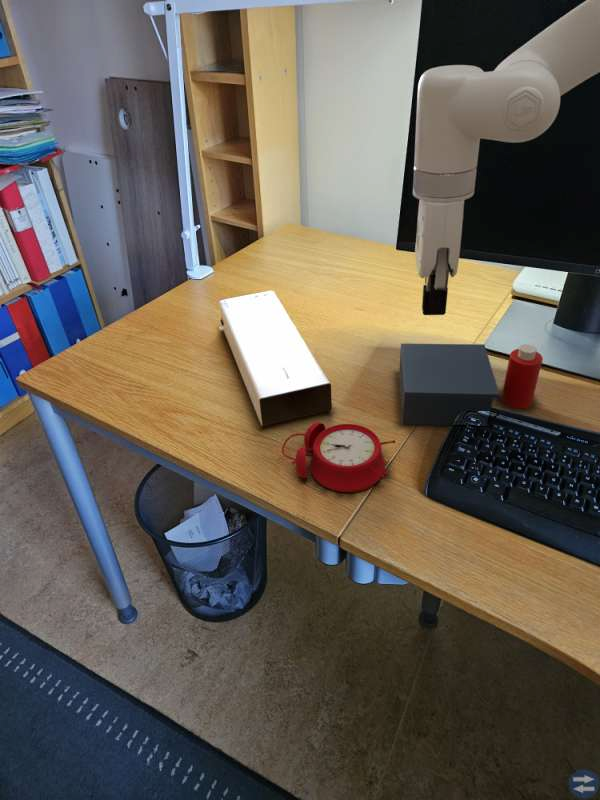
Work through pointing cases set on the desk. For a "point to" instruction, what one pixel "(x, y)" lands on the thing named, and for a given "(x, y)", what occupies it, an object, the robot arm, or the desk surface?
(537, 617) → the desk surface
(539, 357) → the ketchup bottle
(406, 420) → the bin
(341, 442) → the alarm clock
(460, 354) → the bin lid
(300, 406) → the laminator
